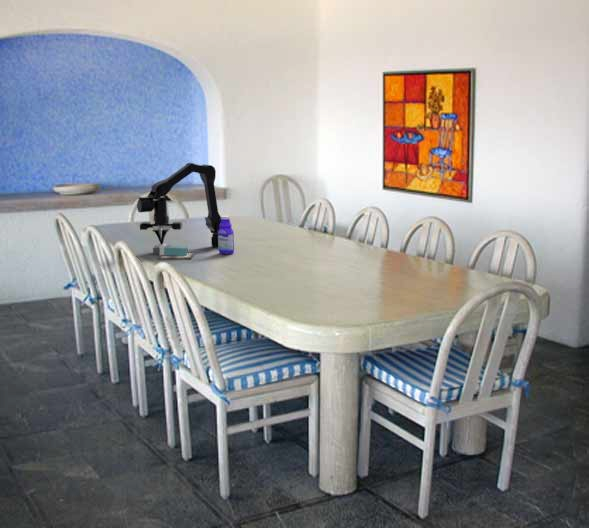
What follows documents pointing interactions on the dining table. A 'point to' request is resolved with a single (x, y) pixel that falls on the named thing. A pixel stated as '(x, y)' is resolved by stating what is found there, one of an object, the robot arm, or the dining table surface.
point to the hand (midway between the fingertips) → (161, 244)
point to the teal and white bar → (173, 250)
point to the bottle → (225, 236)
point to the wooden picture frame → (189, 256)
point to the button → (161, 245)
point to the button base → (157, 249)
